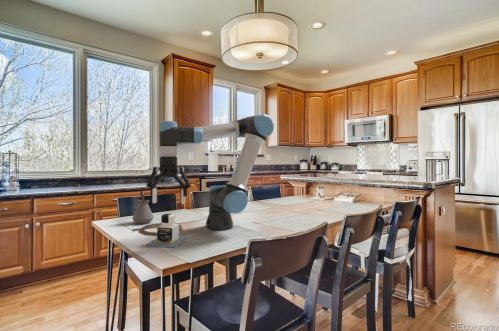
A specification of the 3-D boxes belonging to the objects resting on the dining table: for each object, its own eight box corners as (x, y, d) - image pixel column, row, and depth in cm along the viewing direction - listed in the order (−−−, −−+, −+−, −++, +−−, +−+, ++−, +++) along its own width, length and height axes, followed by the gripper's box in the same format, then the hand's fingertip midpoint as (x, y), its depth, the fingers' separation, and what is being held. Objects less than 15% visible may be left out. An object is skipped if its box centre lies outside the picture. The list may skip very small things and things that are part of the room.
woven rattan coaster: (187, 225, 155) (187, 223, 155) (172, 236, 135) (172, 233, 135) (153, 224, 158) (153, 222, 158) (132, 233, 138) (132, 231, 138)
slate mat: (188, 238, 132) (188, 237, 132) (176, 247, 118) (176, 246, 118) (160, 236, 134) (160, 235, 134) (145, 245, 120) (145, 244, 120)
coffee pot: (154, 224, 159) (154, 197, 158) (132, 225, 154) (132, 198, 154) (152, 216, 178) (152, 192, 178) (133, 217, 174) (133, 193, 174)
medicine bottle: (156, 242, 123) (157, 215, 123) (164, 237, 130) (164, 212, 130) (172, 243, 122) (172, 216, 122) (178, 238, 129) (179, 213, 129)
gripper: (198, 156, 127) (198, 202, 128) (146, 155, 130) (147, 201, 131) (192, 156, 119) (192, 205, 120) (137, 156, 123) (138, 203, 124)
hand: (168, 203), depth 126 cm, fingers open, 13 cm apart
